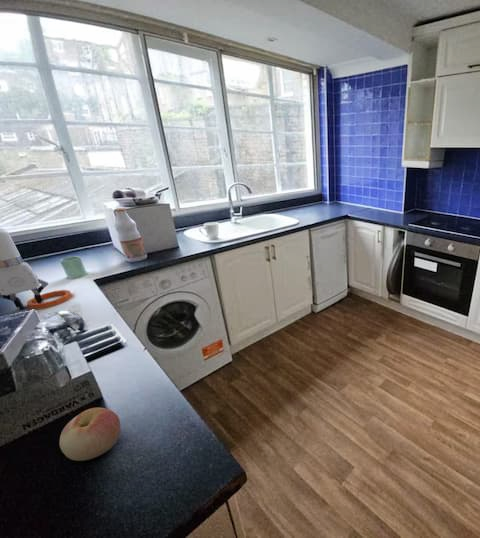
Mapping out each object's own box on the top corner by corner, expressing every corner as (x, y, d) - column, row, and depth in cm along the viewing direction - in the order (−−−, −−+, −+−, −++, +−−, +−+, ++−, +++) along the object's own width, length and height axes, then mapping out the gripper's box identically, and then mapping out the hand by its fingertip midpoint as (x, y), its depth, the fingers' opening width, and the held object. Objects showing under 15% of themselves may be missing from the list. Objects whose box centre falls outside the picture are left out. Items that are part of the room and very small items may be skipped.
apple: (106, 424, 64) (92, 397, 61) (136, 434, 62) (123, 406, 59) (59, 462, 57) (40, 434, 53) (91, 476, 54) (73, 446, 51)
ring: (28, 312, 110) (25, 308, 110) (30, 301, 119) (28, 297, 118) (72, 301, 118) (70, 296, 117) (71, 291, 127) (69, 287, 126)
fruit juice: (122, 262, 158) (103, 210, 147) (137, 256, 166) (120, 206, 155) (137, 263, 156) (118, 210, 145) (151, 256, 165) (135, 206, 154)
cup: (68, 280, 138) (60, 262, 134) (67, 276, 142) (59, 258, 139) (87, 275, 142) (80, 258, 139) (86, 271, 147) (79, 255, 143)
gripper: (-30, 272, 100) (-3, 318, 107) (39, 259, 110) (60, 301, 118) (-26, 266, 105) (0, 310, 112) (40, 254, 115) (60, 295, 123)
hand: (31, 305), depth 115 cm, fingers open, 4 cm apart
